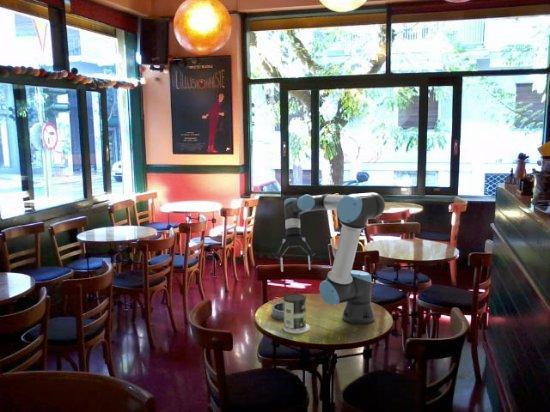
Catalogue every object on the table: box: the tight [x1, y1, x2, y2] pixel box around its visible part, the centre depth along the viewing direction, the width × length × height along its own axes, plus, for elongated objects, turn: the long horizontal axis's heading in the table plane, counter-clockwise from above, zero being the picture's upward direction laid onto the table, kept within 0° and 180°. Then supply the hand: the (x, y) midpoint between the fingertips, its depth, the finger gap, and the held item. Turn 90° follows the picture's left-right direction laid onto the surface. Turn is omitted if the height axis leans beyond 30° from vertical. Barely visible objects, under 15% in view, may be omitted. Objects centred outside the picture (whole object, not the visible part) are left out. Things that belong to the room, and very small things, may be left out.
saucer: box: [283, 323, 311, 335], centre depth 243 cm, size 12×12×1 cm
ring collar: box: [271, 301, 284, 321], centre depth 261 cm, size 14×14×4 cm
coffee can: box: [282, 293, 307, 330], centre depth 242 cm, size 10×10×14 cm
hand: (295, 270), depth 259 cm, fingers open, 13 cm apart
